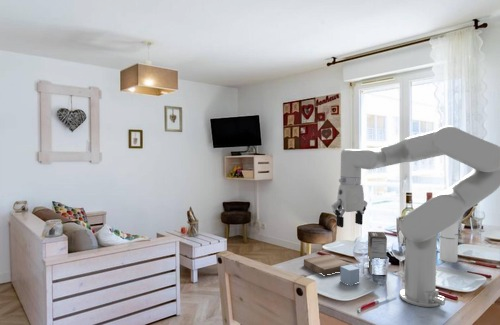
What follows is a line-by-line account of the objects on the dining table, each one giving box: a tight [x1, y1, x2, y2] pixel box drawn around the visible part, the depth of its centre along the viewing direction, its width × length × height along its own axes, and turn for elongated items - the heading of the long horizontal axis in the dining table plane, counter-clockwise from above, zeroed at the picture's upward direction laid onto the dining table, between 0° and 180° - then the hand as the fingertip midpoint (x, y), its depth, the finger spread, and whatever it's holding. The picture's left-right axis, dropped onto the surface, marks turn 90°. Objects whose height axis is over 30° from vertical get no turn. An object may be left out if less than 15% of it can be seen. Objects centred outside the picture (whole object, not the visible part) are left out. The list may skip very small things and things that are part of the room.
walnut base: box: [303, 254, 351, 275], centre depth 146 cm, size 14×14×3 cm
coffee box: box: [367, 231, 388, 276], centre depth 142 cm, size 9×6×16 cm
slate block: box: [339, 264, 360, 286], centre depth 131 cm, size 5×5×6 cm
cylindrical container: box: [439, 220, 459, 263], centre depth 156 cm, size 7×7×25 cm
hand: (349, 225), depth 130 cm, fingers open, 9 cm apart
